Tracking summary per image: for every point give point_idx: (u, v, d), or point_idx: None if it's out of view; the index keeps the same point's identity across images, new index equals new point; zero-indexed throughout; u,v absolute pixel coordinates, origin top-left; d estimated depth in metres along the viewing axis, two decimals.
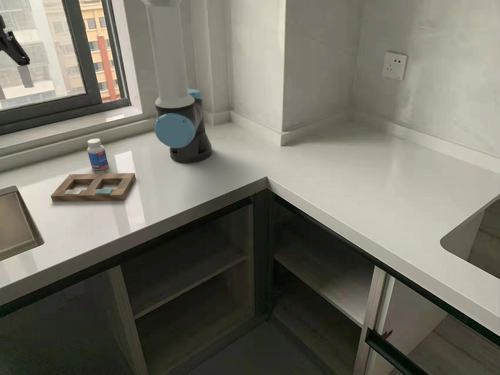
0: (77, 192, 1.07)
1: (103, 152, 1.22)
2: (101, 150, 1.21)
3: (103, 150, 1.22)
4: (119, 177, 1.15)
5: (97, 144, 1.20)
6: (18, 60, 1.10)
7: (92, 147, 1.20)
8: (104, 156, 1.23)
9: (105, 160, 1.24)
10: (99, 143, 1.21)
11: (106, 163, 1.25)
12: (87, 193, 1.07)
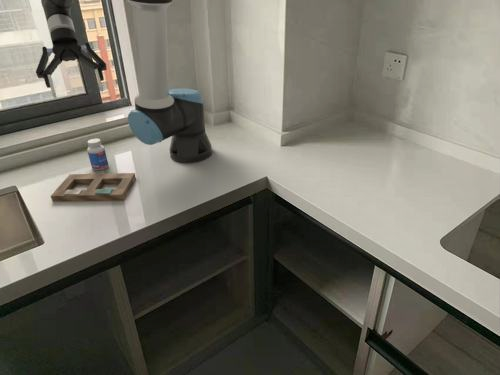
0: (77, 192, 1.07)
1: (103, 152, 1.22)
2: (101, 150, 1.21)
3: (103, 150, 1.22)
4: (119, 177, 1.15)
5: (97, 144, 1.20)
6: (92, 66, 1.17)
7: (92, 147, 1.20)
8: (104, 156, 1.23)
9: (105, 160, 1.24)
10: (99, 143, 1.21)
11: (106, 163, 1.25)
12: (87, 193, 1.07)
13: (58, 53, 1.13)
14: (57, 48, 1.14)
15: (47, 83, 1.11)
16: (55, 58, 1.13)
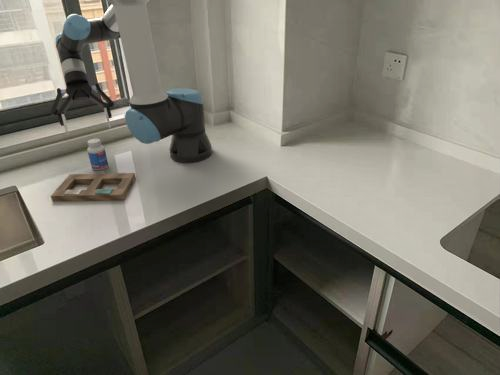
0: (77, 192, 1.07)
1: (103, 152, 1.22)
2: (101, 150, 1.21)
3: (103, 150, 1.22)
4: (119, 177, 1.15)
5: (97, 144, 1.20)
6: (101, 105, 1.29)
7: (92, 147, 1.20)
8: (104, 156, 1.23)
9: (105, 160, 1.24)
10: (99, 143, 1.21)
11: (106, 163, 1.25)
12: (87, 193, 1.07)
13: (71, 94, 1.26)
14: (70, 89, 1.27)
15: (61, 122, 1.23)
16: (68, 99, 1.25)
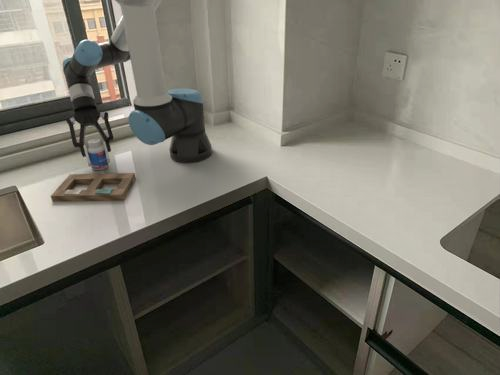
0: (77, 192, 1.07)
1: (103, 152, 1.22)
2: (101, 150, 1.21)
3: (103, 150, 1.22)
4: (119, 177, 1.15)
5: (97, 144, 1.20)
6: (102, 136, 1.24)
7: (92, 147, 1.20)
8: (104, 156, 1.23)
9: (105, 160, 1.24)
10: (99, 143, 1.21)
11: (106, 163, 1.25)
12: (87, 193, 1.07)
13: (82, 121, 1.22)
14: (78, 115, 1.23)
15: (82, 153, 1.20)
16: (82, 127, 1.22)
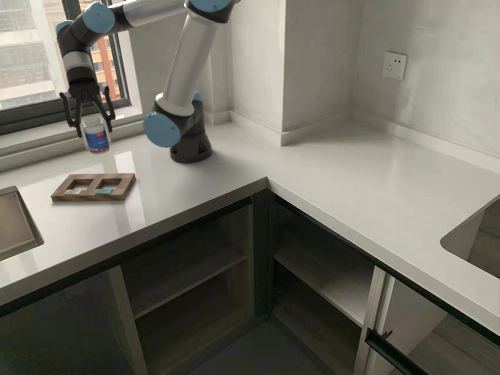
0: (77, 192, 1.07)
1: (103, 133, 1.03)
2: (100, 130, 1.02)
3: (103, 130, 1.03)
4: (119, 177, 1.15)
5: (96, 123, 1.01)
6: (101, 114, 1.04)
7: (89, 127, 1.01)
8: (104, 137, 1.04)
9: (106, 142, 1.04)
10: (98, 122, 1.02)
11: (107, 146, 1.05)
12: (87, 193, 1.07)
13: (78, 96, 1.03)
14: (73, 88, 1.03)
15: (79, 133, 1.01)
16: (78, 102, 1.02)
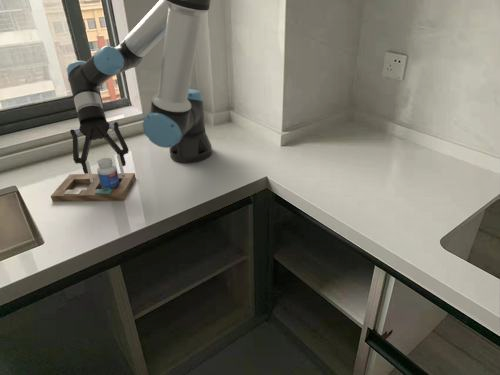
0: (77, 192, 1.07)
1: (115, 173, 1.10)
2: (112, 171, 1.08)
3: (115, 171, 1.09)
4: (119, 177, 1.15)
5: (108, 164, 1.07)
6: (115, 149, 1.10)
7: (102, 168, 1.08)
8: (116, 177, 1.10)
9: (117, 182, 1.11)
10: (111, 163, 1.08)
11: (118, 185, 1.12)
12: (87, 193, 1.07)
13: (88, 134, 1.08)
14: (84, 127, 1.09)
15: (84, 170, 1.06)
16: (87, 140, 1.08)
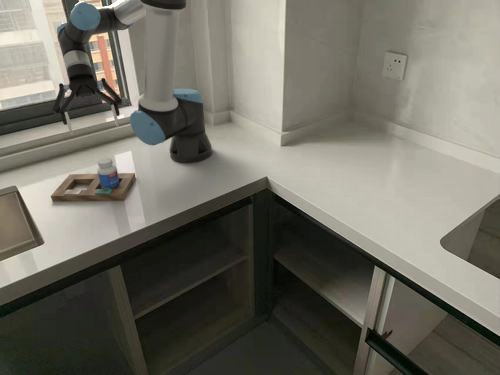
0: (77, 192, 1.07)
1: (115, 173, 1.10)
2: (112, 171, 1.08)
3: (115, 171, 1.09)
4: (119, 177, 1.15)
5: (108, 164, 1.07)
6: (108, 102, 1.17)
7: (102, 168, 1.08)
8: (116, 177, 1.10)
9: (117, 182, 1.11)
10: (111, 163, 1.08)
11: (118, 185, 1.12)
12: (87, 193, 1.07)
13: (75, 90, 1.14)
14: (74, 84, 1.15)
15: (64, 120, 1.11)
16: (72, 95, 1.13)
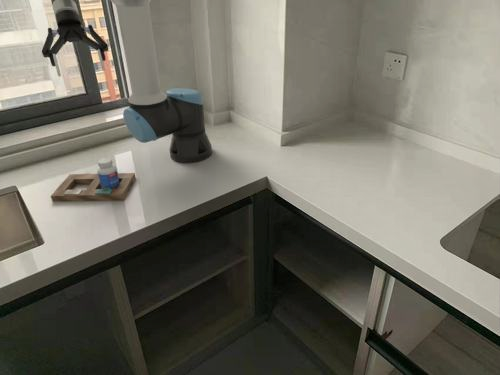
0: (77, 192, 1.07)
1: (115, 173, 1.10)
2: (112, 171, 1.08)
3: (115, 171, 1.10)
4: (119, 177, 1.15)
5: (108, 164, 1.07)
6: (95, 47, 1.23)
7: (102, 168, 1.08)
8: (116, 177, 1.10)
9: (117, 182, 1.11)
10: (110, 163, 1.08)
11: (118, 185, 1.12)
12: (87, 193, 1.07)
13: (63, 34, 1.20)
14: (62, 29, 1.21)
15: (52, 62, 1.17)
16: (60, 39, 1.20)
